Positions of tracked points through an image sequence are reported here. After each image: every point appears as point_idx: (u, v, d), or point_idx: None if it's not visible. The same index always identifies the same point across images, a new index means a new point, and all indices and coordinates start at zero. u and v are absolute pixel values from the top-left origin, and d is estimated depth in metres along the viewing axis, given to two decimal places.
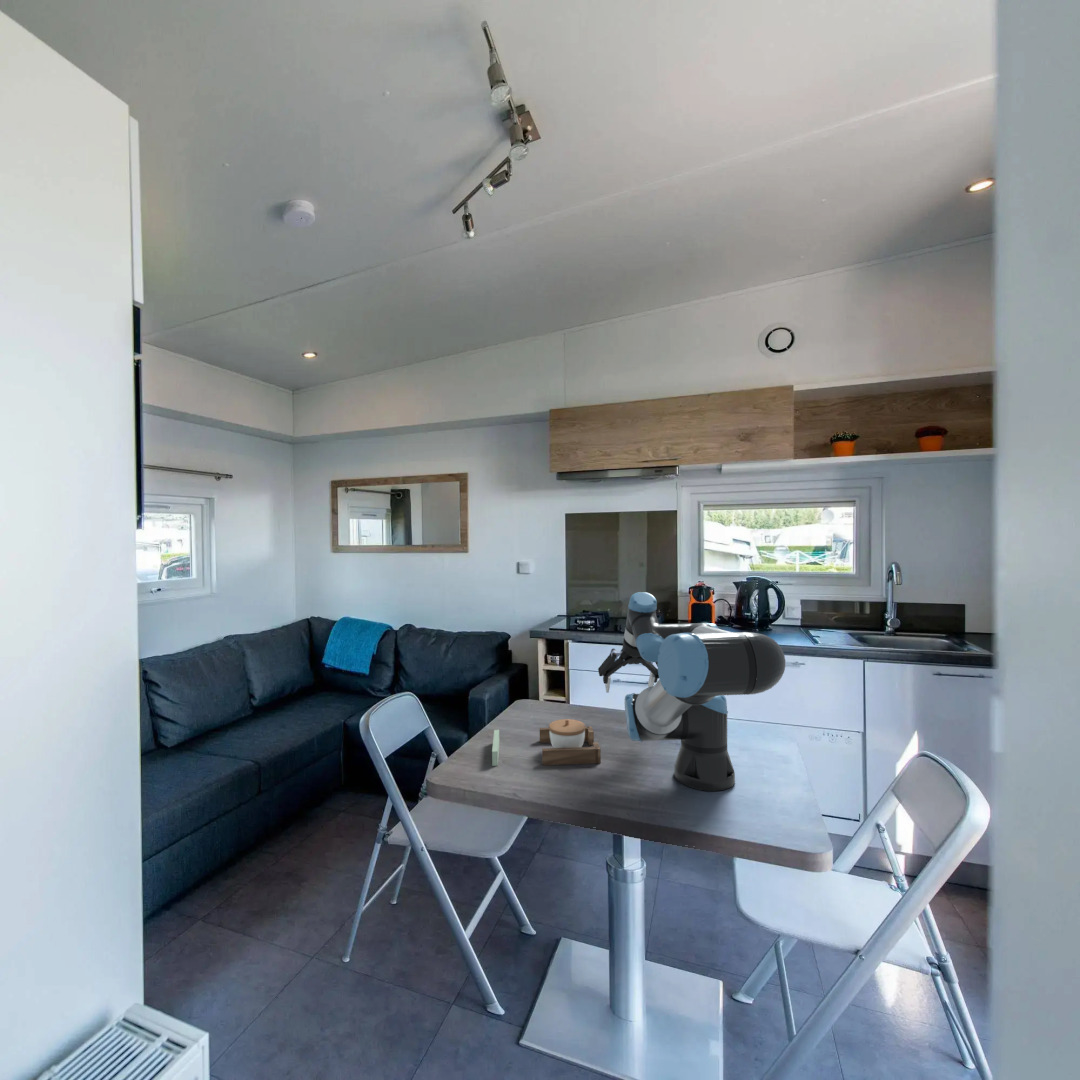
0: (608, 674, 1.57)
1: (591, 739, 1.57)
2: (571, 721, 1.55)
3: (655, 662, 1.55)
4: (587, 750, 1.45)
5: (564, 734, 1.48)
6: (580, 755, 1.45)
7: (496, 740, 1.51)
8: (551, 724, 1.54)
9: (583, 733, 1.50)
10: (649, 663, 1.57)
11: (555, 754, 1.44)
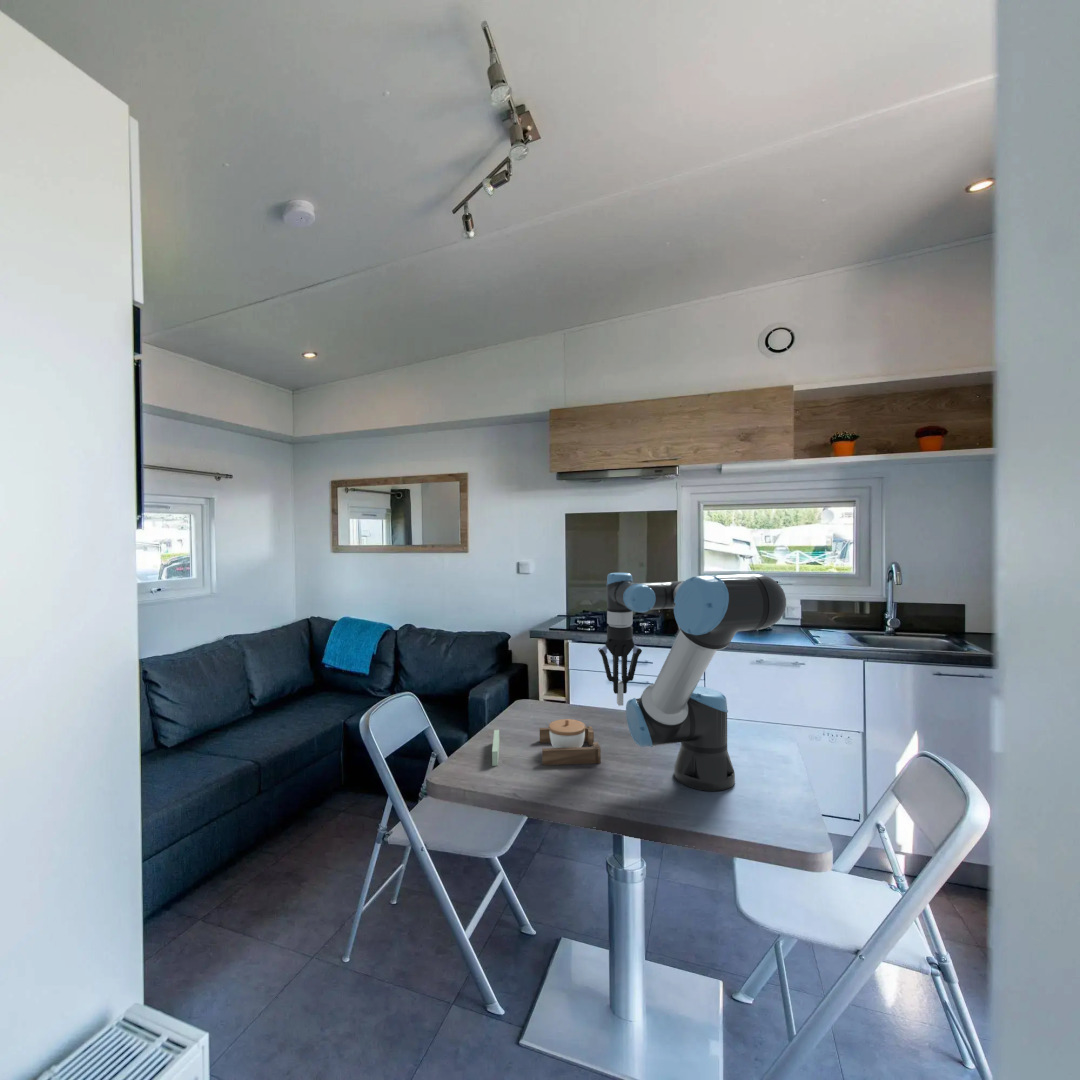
0: (615, 678, 1.53)
1: (591, 739, 1.57)
2: (571, 721, 1.55)
3: (633, 659, 1.53)
4: (587, 750, 1.45)
5: (564, 734, 1.48)
6: (580, 755, 1.45)
7: (496, 740, 1.51)
8: (551, 724, 1.54)
9: (583, 733, 1.50)
10: None
11: (555, 754, 1.44)
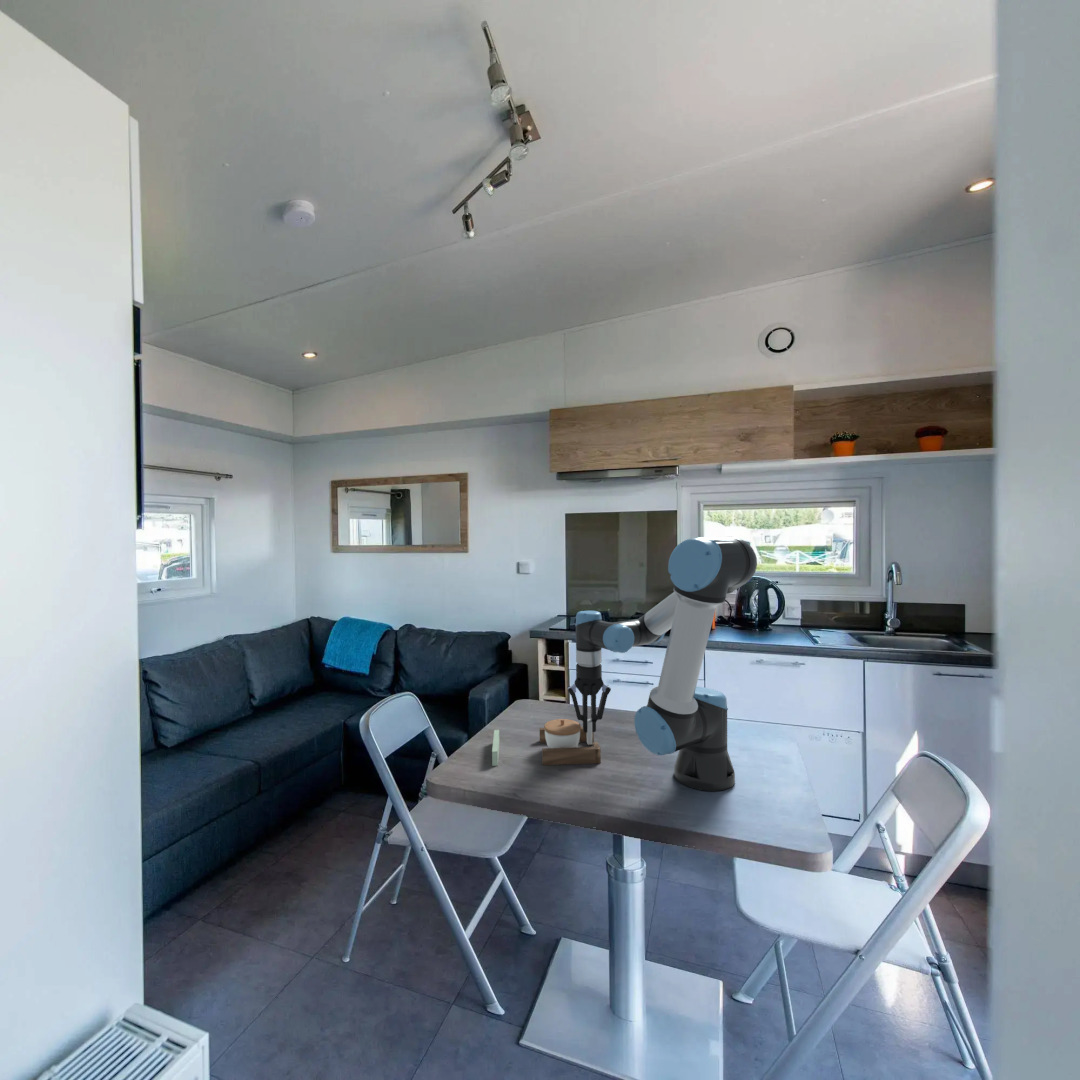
0: (585, 717, 1.52)
1: None
2: (566, 721, 1.55)
3: (602, 698, 1.52)
4: (587, 750, 1.45)
5: (559, 734, 1.48)
6: (580, 755, 1.45)
7: (496, 740, 1.51)
8: (546, 724, 1.54)
9: (578, 733, 1.51)
10: None
11: (555, 754, 1.44)
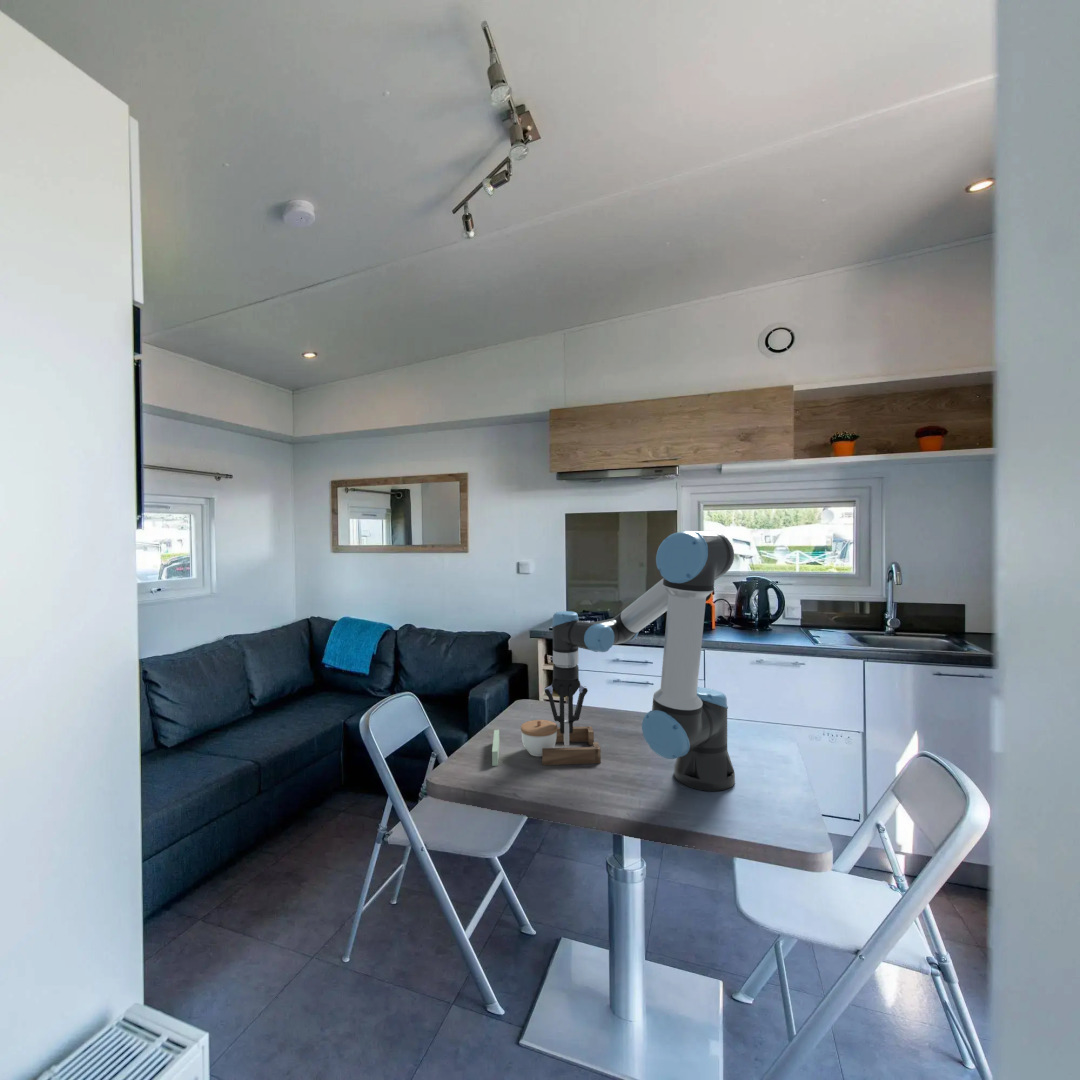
0: (561, 718, 1.52)
1: (591, 739, 1.57)
2: (543, 722, 1.55)
3: (579, 699, 1.52)
4: (587, 750, 1.45)
5: (535, 735, 1.47)
6: (580, 755, 1.45)
7: (496, 740, 1.51)
8: (523, 725, 1.53)
9: (555, 734, 1.50)
10: None
11: (555, 754, 1.44)
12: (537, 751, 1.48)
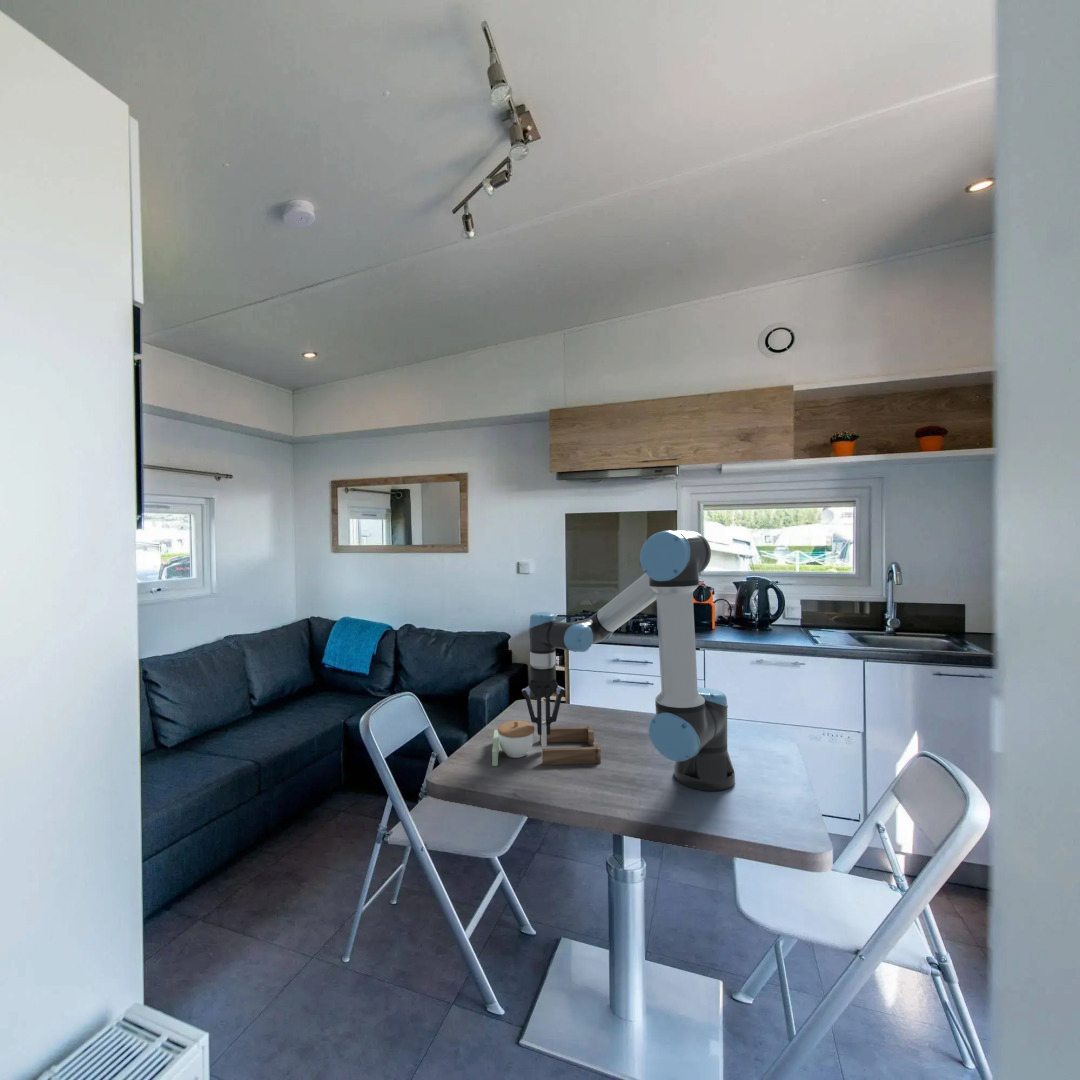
0: (539, 719, 1.51)
1: (591, 739, 1.57)
2: (521, 723, 1.55)
3: (556, 700, 1.52)
4: (587, 750, 1.45)
5: (512, 736, 1.47)
6: (580, 755, 1.45)
7: (496, 740, 1.51)
8: (500, 726, 1.53)
9: (532, 735, 1.50)
10: None
11: (555, 754, 1.44)
12: (514, 752, 1.47)
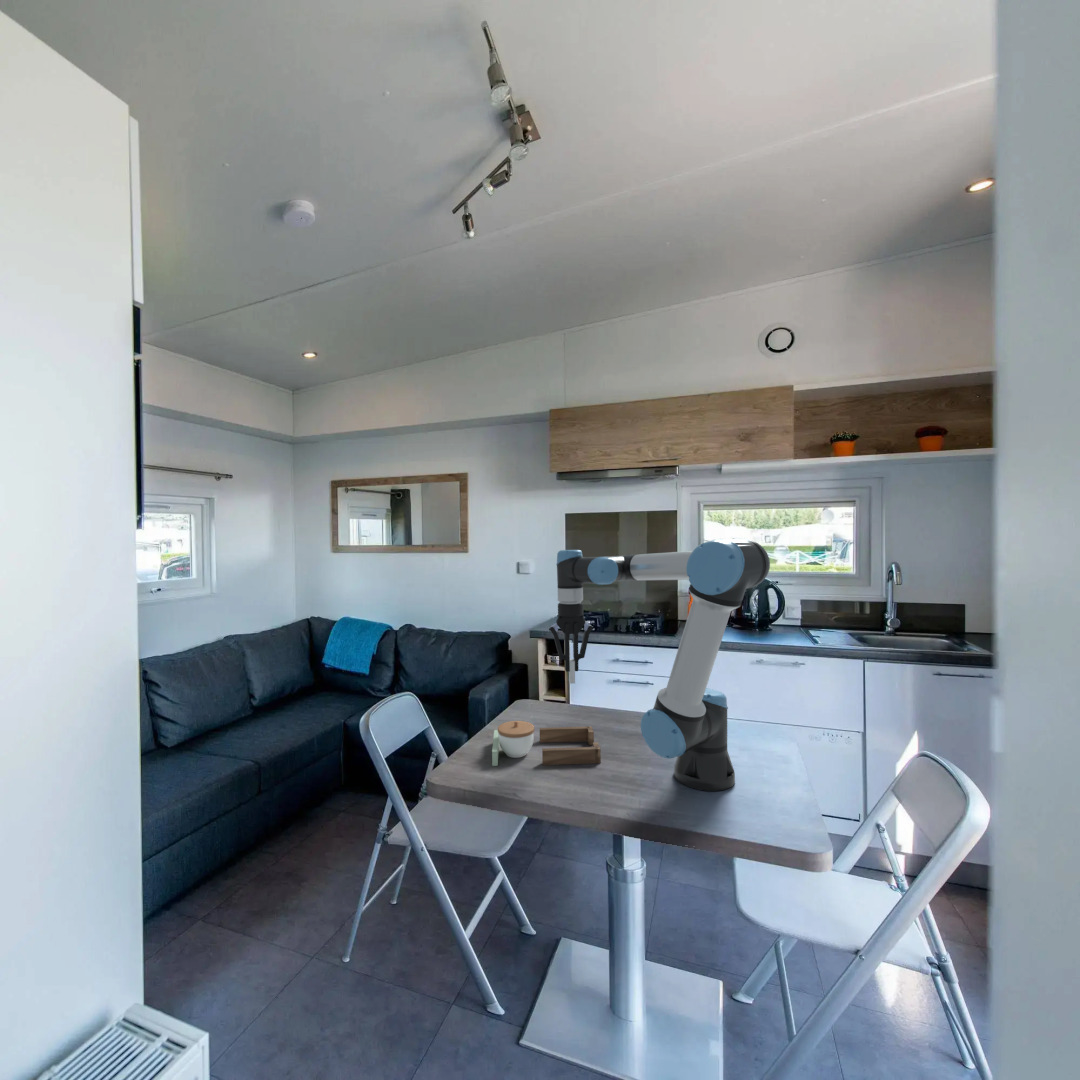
0: (567, 656, 1.51)
1: (591, 739, 1.57)
2: (521, 723, 1.55)
3: (584, 636, 1.52)
4: (587, 750, 1.45)
5: (512, 736, 1.47)
6: (580, 755, 1.45)
7: (496, 740, 1.51)
8: (500, 726, 1.53)
9: (531, 735, 1.50)
10: (577, 641, 1.53)
11: (555, 754, 1.44)
12: (514, 752, 1.47)
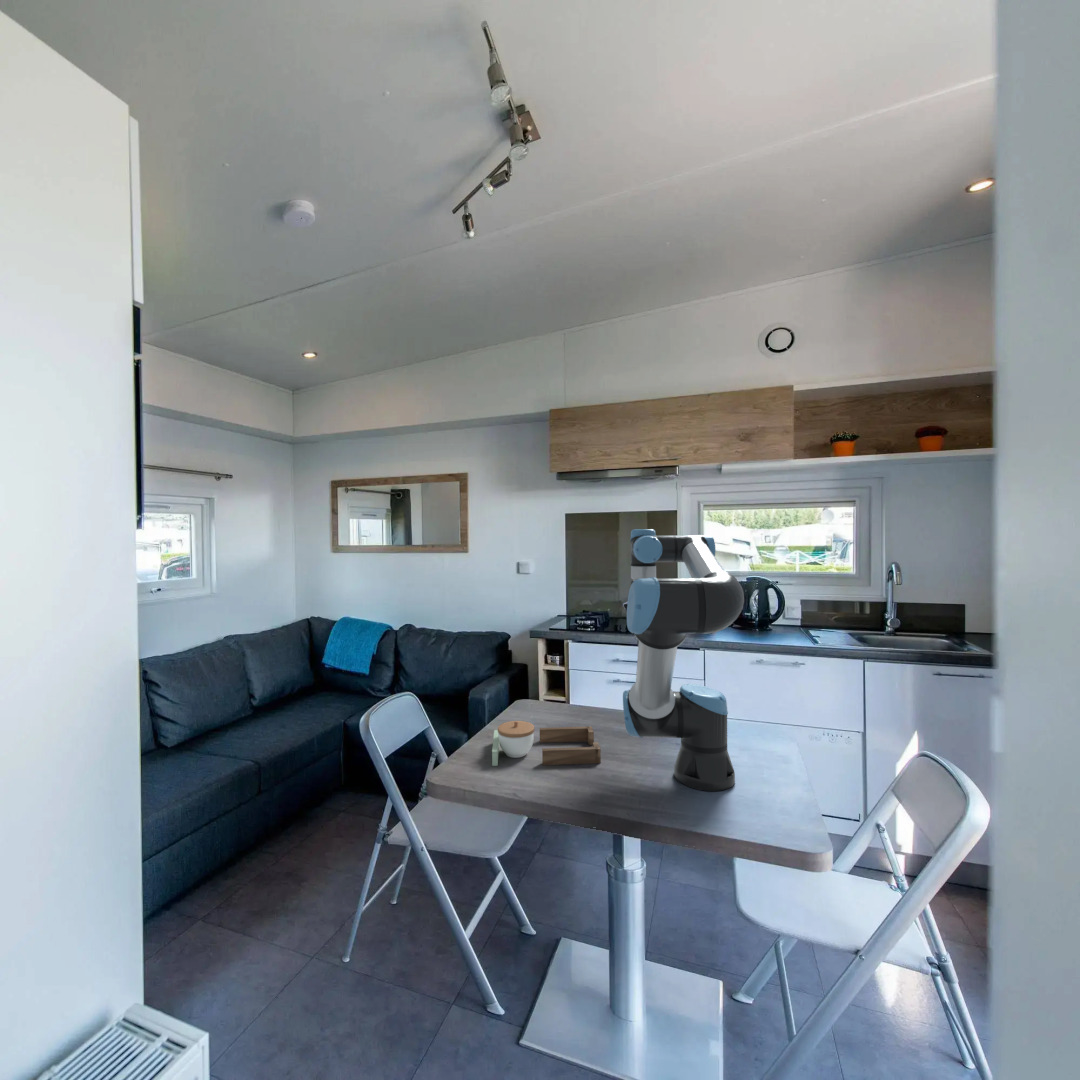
0: None
1: (591, 739, 1.57)
2: (521, 723, 1.55)
3: None
4: (587, 750, 1.45)
5: (512, 736, 1.47)
6: (580, 755, 1.45)
7: (496, 740, 1.51)
8: (500, 726, 1.53)
9: (531, 735, 1.50)
10: None
11: (555, 754, 1.44)
12: (514, 752, 1.47)
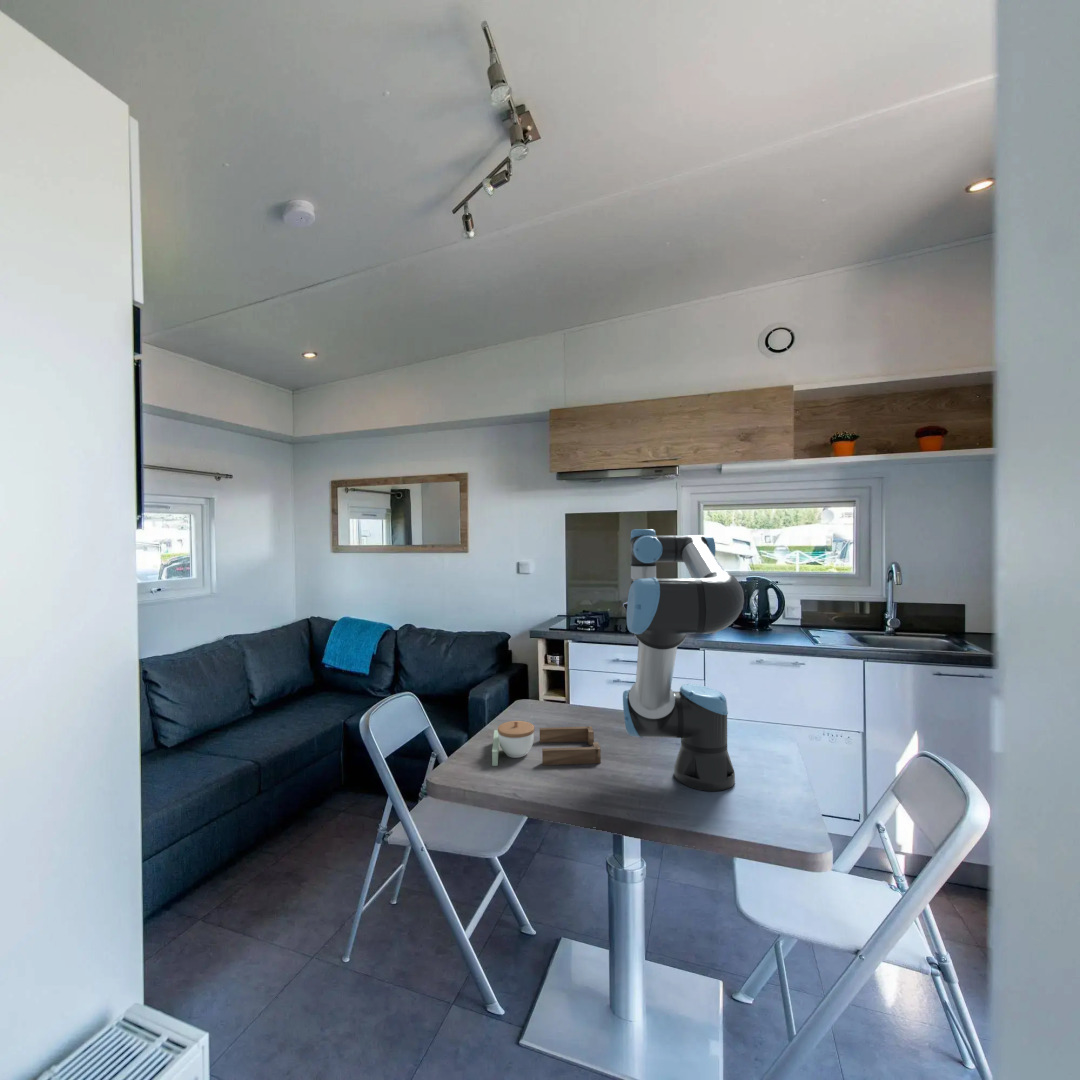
0: None
1: (591, 739, 1.57)
2: (521, 723, 1.55)
3: None
4: (587, 750, 1.45)
5: (512, 736, 1.47)
6: (580, 755, 1.45)
7: (496, 740, 1.51)
8: (500, 726, 1.53)
9: (532, 735, 1.50)
10: None
11: (555, 754, 1.44)
12: (514, 752, 1.47)
